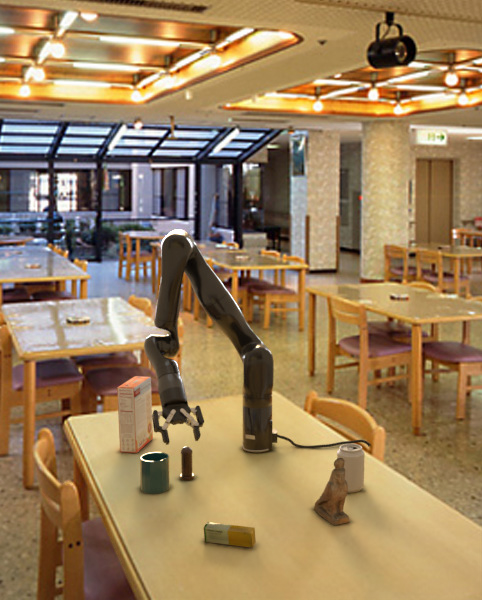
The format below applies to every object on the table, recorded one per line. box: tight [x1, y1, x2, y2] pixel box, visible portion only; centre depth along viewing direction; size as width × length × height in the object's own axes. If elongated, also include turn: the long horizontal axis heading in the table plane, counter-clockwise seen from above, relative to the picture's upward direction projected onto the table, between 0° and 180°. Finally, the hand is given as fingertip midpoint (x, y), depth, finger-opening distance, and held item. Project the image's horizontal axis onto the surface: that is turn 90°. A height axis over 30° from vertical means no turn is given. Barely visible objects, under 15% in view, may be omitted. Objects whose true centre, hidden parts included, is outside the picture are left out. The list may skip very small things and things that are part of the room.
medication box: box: [203, 521, 257, 549], centre depth 183 cm, size 12×3×4 cm, turn 75°
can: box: [336, 443, 366, 494], centre depth 216 cm, size 8×8×12 cm
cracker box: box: [116, 375, 154, 454], centre depth 248 cm, size 14×6×21 cm, turn 172°
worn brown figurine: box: [313, 458, 350, 526], centre depth 197 cm, size 12×6×18 cm, turn 24°
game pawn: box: [179, 446, 195, 482], centre depth 222 cm, size 4×4×9 cm
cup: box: [139, 451, 171, 495], centre depth 214 cm, size 8×8×9 cm
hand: (182, 441), depth 225 cm, fingers open, 8 cm apart
